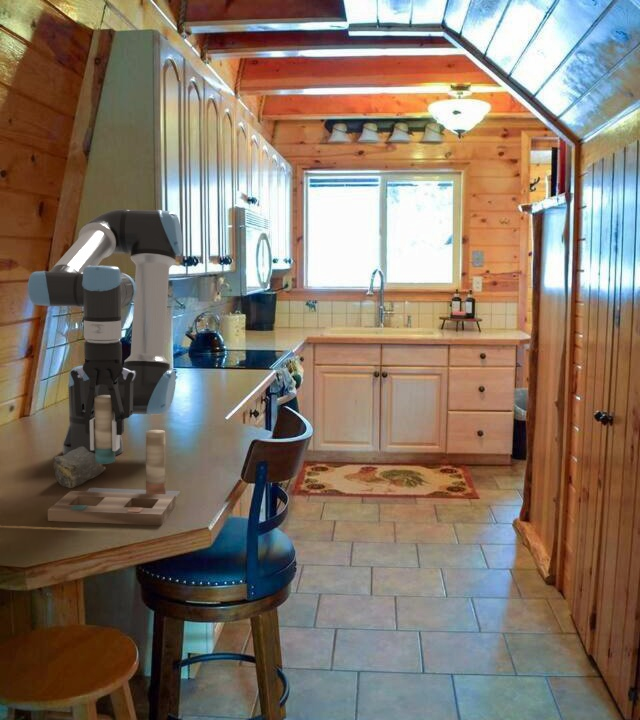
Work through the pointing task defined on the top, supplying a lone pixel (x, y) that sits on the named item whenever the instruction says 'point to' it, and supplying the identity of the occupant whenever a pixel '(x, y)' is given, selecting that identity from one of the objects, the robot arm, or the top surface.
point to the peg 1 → (103, 429)
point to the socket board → (113, 508)
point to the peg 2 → (155, 462)
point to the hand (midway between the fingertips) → (105, 448)
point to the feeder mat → (128, 491)
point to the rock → (76, 467)
